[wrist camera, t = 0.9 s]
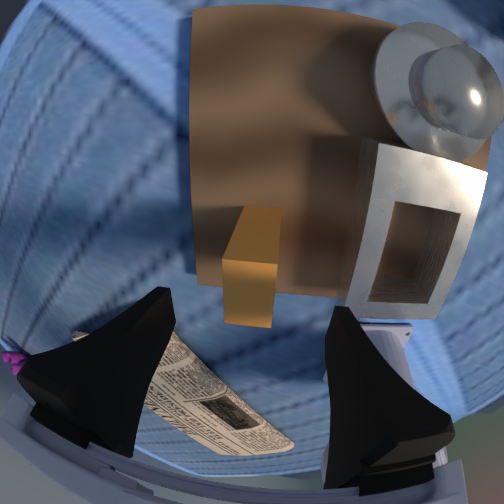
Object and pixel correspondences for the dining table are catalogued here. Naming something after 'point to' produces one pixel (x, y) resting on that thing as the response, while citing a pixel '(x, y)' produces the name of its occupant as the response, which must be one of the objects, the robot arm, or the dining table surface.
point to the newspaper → (206, 406)
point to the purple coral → (14, 360)
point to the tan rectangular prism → (251, 267)
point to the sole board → (289, 138)
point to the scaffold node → (419, 168)
